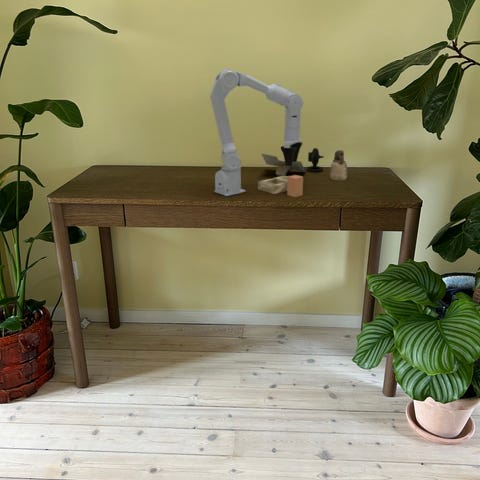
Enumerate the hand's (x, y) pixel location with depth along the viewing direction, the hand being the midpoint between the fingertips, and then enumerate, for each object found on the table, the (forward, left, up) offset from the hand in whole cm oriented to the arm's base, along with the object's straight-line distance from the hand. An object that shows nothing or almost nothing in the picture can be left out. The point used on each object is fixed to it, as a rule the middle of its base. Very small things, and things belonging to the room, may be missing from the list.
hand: (291, 163), depth 185 cm
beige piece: (-3, +3, -10) cm, 11 cm away
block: (-5, -7, -10) cm, 13 cm away
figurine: (+26, -2, -10) cm, 28 cm away
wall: (+13, +18, -10) cm, 24 cm away
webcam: (+29, +14, -10) cm, 34 cm away
